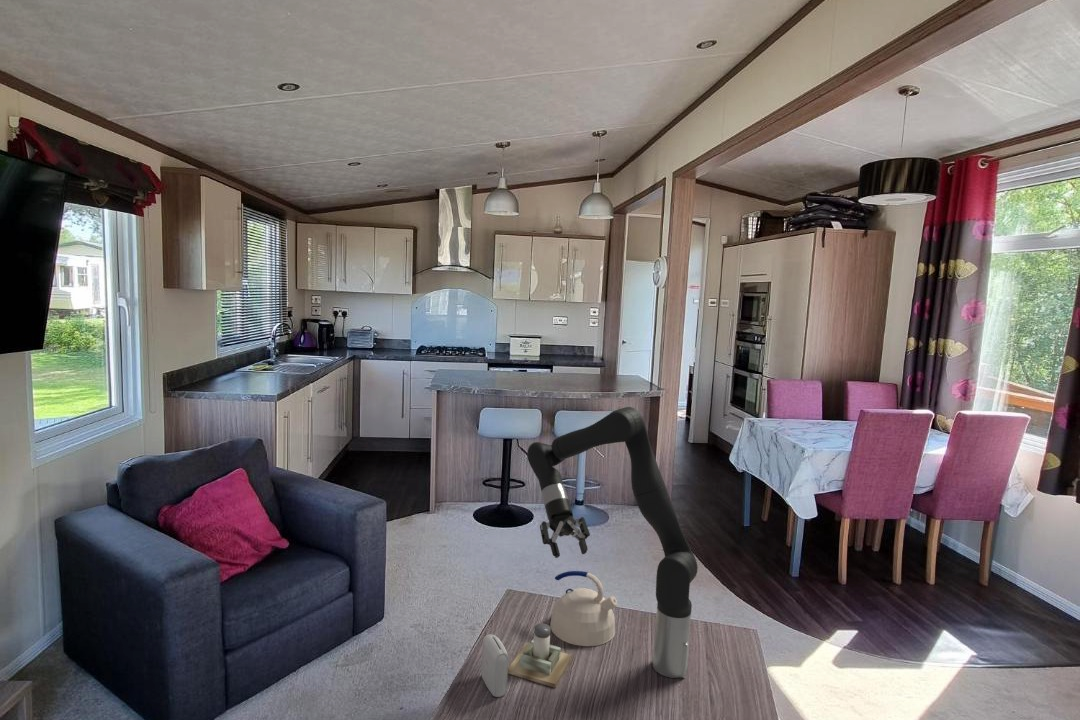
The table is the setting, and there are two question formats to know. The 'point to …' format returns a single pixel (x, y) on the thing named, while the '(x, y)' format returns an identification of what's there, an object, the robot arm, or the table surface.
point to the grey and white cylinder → (541, 641)
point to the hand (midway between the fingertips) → (571, 555)
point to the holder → (540, 665)
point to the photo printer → (494, 665)
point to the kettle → (584, 614)
